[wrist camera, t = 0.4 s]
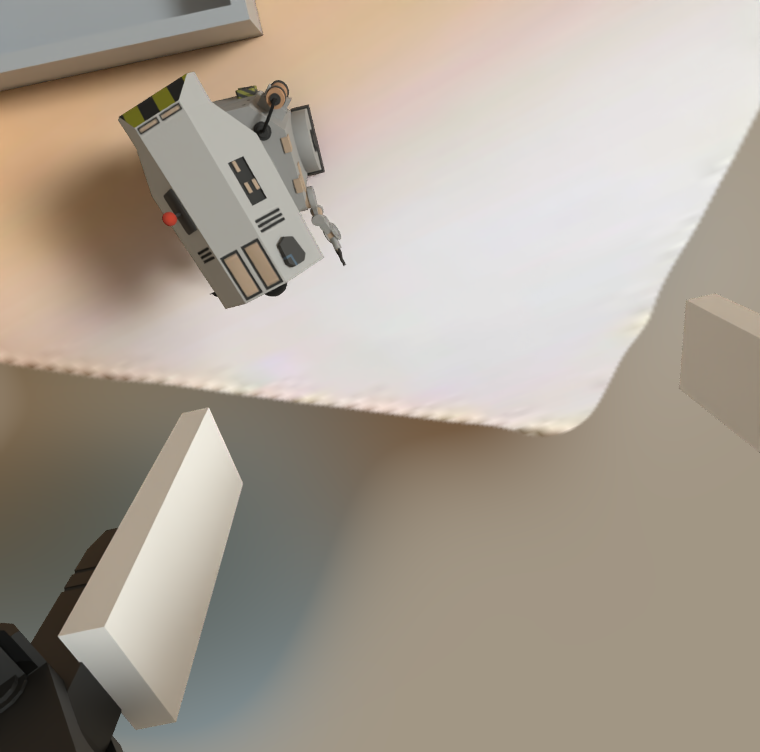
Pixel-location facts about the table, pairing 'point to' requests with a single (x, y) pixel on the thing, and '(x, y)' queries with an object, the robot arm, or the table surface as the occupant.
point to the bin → (110, 33)
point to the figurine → (234, 183)
